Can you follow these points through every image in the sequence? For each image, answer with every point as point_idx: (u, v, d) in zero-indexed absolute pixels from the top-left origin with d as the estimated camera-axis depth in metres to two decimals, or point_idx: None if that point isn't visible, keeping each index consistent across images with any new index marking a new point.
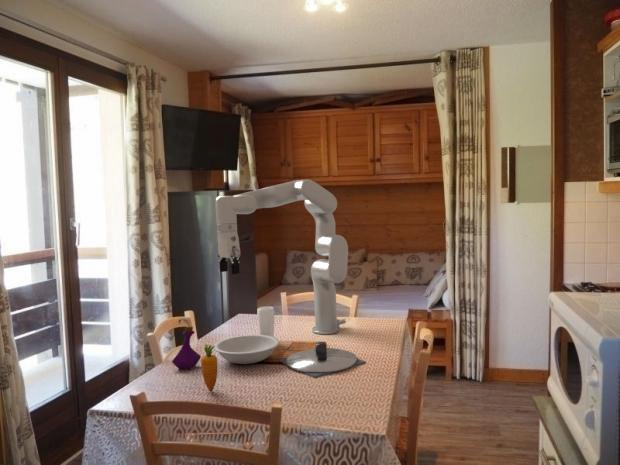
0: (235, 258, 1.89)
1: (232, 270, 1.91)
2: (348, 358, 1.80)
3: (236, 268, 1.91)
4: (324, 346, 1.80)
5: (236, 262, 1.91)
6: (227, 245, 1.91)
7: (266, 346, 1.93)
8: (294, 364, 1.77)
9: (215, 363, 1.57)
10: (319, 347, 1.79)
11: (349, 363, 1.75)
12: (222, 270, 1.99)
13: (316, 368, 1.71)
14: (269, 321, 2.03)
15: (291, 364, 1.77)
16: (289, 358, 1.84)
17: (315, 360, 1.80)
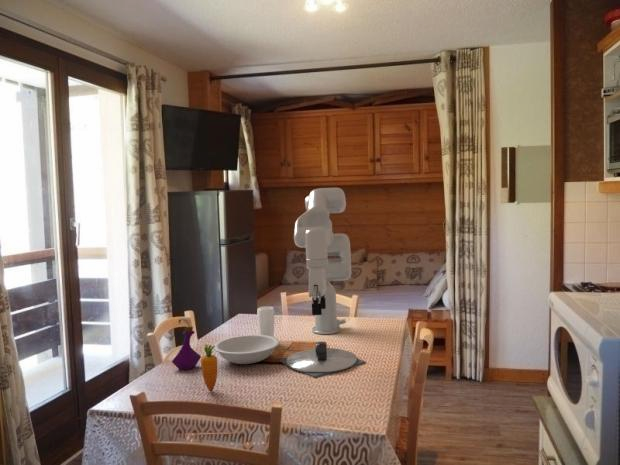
0: None
1: None
2: (348, 358, 1.80)
3: None
4: (324, 346, 1.80)
5: None
6: None
7: (266, 346, 1.93)
8: (294, 364, 1.77)
9: (215, 363, 1.57)
10: (319, 347, 1.79)
11: (349, 363, 1.75)
12: None
13: (316, 368, 1.71)
14: (269, 321, 2.03)
15: (291, 364, 1.77)
16: (289, 358, 1.84)
17: (315, 360, 1.80)
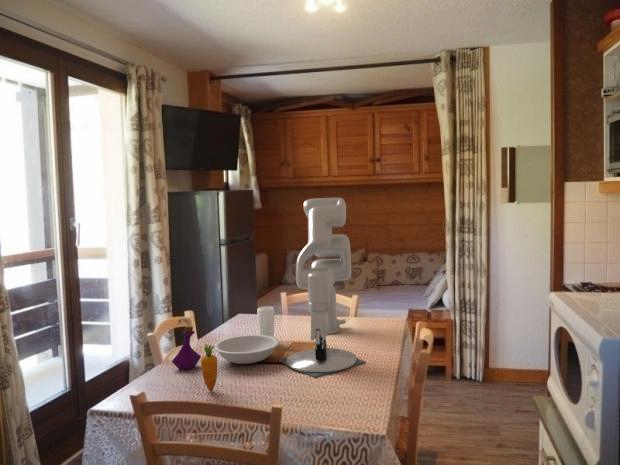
0: None
1: None
2: (348, 358, 1.80)
3: None
4: (324, 346, 1.80)
5: None
6: None
7: (266, 346, 1.93)
8: (294, 363, 1.77)
9: (215, 363, 1.57)
10: None
11: (349, 363, 1.75)
12: None
13: (316, 368, 1.71)
14: (269, 321, 2.03)
15: (291, 364, 1.77)
16: (289, 358, 1.84)
17: (315, 360, 1.80)
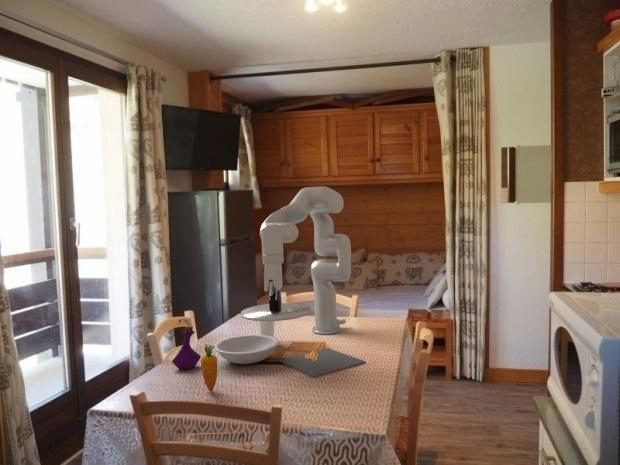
0: None
1: None
2: (302, 309, 1.83)
3: None
4: (278, 297, 1.82)
5: None
6: None
7: (266, 346, 1.93)
8: (248, 314, 1.79)
9: (215, 363, 1.57)
10: None
11: (302, 313, 1.77)
12: None
13: (269, 317, 1.73)
14: (269, 321, 2.03)
15: (245, 315, 1.78)
16: (244, 310, 1.85)
17: (269, 311, 1.82)
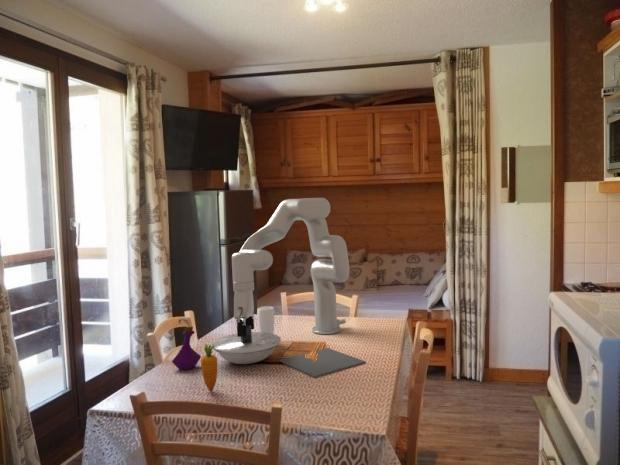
0: None
1: None
2: (272, 340, 1.86)
3: None
4: (248, 329, 1.85)
5: None
6: None
7: None
8: (218, 346, 1.82)
9: (215, 363, 1.57)
10: None
11: (271, 345, 1.81)
12: None
13: (237, 349, 1.77)
14: (269, 321, 2.03)
15: (215, 346, 1.82)
16: (215, 341, 1.89)
17: (239, 342, 1.85)
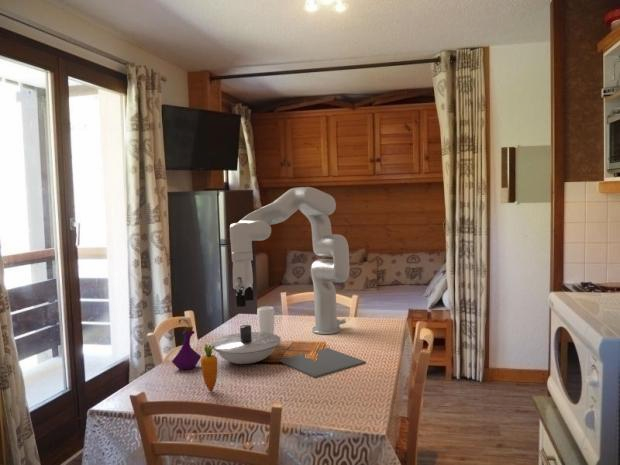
0: None
1: None
2: (272, 340, 1.86)
3: None
4: (248, 329, 1.85)
5: None
6: None
7: None
8: (218, 346, 1.82)
9: (215, 363, 1.57)
10: (243, 329, 1.85)
11: (271, 344, 1.81)
12: None
13: (237, 349, 1.77)
14: (269, 321, 2.03)
15: (215, 346, 1.82)
16: (215, 341, 1.89)
17: (239, 342, 1.85)
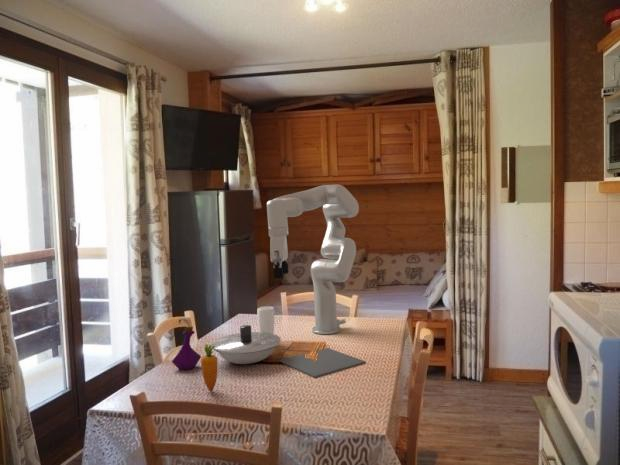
0: None
1: None
2: (272, 340, 1.86)
3: None
4: (248, 329, 1.85)
5: None
6: None
7: None
8: (218, 346, 1.82)
9: (215, 363, 1.57)
10: (243, 329, 1.85)
11: (271, 344, 1.81)
12: None
13: (238, 349, 1.77)
14: (269, 321, 2.03)
15: (215, 346, 1.82)
16: (215, 341, 1.89)
17: (239, 342, 1.85)
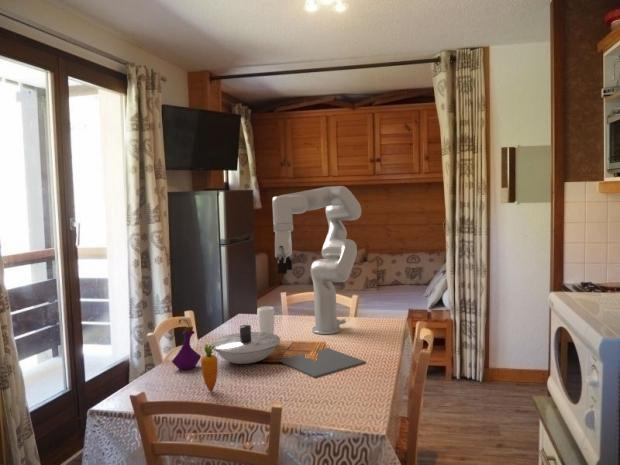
0: None
1: None
2: (271, 340, 1.86)
3: None
4: (248, 329, 1.85)
5: None
6: (291, 242, 2.02)
7: None
8: (218, 346, 1.82)
9: (215, 363, 1.57)
10: (243, 329, 1.85)
11: (271, 344, 1.81)
12: None
13: (237, 349, 1.77)
14: (269, 321, 2.03)
15: (215, 346, 1.82)
16: (215, 341, 1.89)
17: (239, 342, 1.85)
